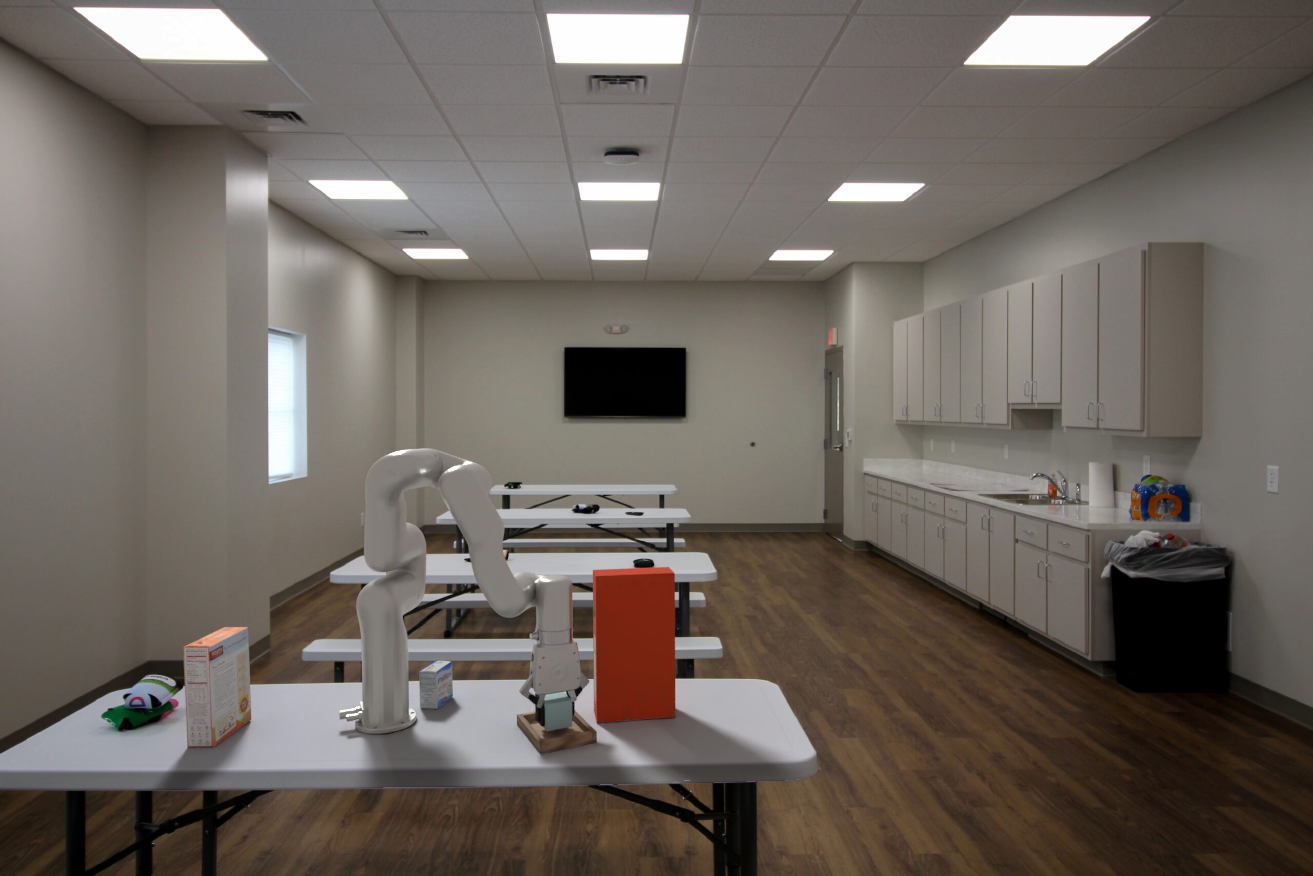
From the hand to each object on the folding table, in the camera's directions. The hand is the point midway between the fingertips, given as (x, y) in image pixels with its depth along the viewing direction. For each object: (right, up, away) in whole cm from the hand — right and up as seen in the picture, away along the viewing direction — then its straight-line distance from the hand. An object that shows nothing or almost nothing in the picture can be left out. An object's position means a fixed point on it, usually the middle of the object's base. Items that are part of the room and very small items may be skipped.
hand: (555, 720), depth 161 cm
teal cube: (0, -1, 0) cm, 1 cm away
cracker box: (-71, -3, +1) cm, 71 cm away
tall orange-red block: (+16, -3, +10) cm, 19 cm away
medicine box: (-30, -3, +18) cm, 35 cm away
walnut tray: (0, -3, 0) cm, 3 cm away
